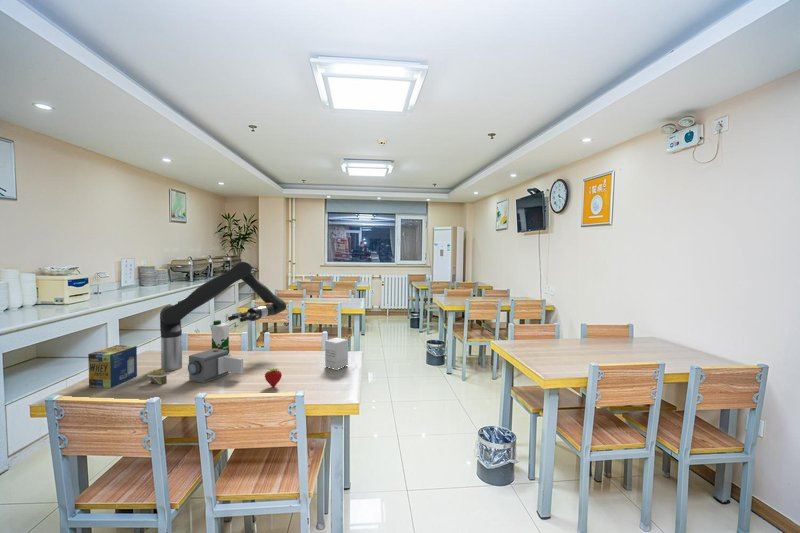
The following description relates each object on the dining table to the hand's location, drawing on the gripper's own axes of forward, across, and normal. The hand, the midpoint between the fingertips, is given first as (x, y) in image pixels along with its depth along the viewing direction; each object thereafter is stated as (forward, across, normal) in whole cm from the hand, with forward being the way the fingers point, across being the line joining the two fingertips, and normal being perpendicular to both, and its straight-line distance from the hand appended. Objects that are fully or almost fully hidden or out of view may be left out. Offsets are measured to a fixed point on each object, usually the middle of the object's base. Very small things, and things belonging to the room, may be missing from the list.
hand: (234, 319), depth 185 cm
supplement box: (-22, +49, +28) cm, 60 cm away
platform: (+33, -14, +24) cm, 44 cm away
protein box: (+40, -35, +23) cm, 58 cm away
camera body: (+18, 0, +25) cm, 31 cm away
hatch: (+13, +11, +23) cm, 29 cm away
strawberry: (+14, +38, +26) cm, 48 cm away
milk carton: (-13, -28, +26) cm, 41 cm away
